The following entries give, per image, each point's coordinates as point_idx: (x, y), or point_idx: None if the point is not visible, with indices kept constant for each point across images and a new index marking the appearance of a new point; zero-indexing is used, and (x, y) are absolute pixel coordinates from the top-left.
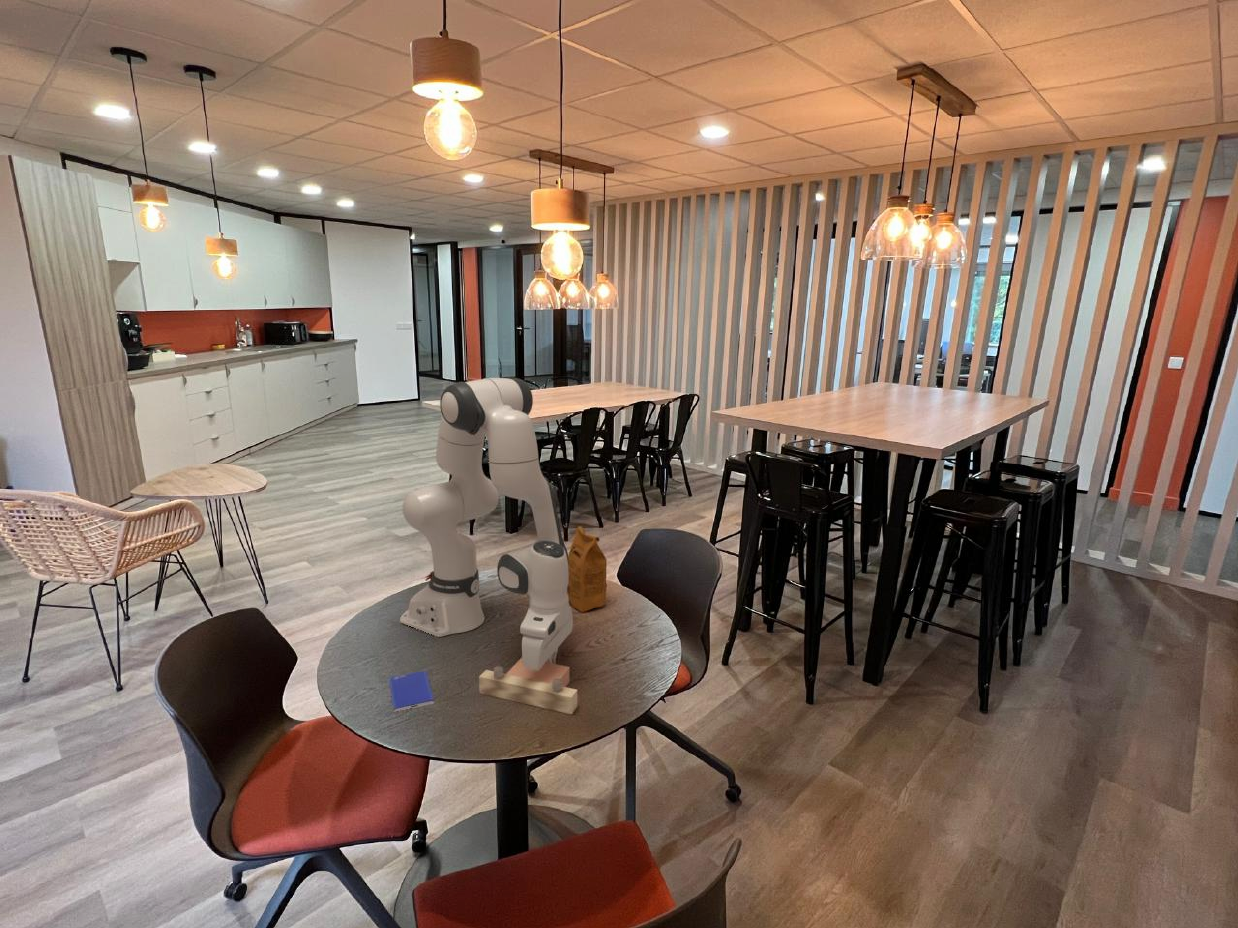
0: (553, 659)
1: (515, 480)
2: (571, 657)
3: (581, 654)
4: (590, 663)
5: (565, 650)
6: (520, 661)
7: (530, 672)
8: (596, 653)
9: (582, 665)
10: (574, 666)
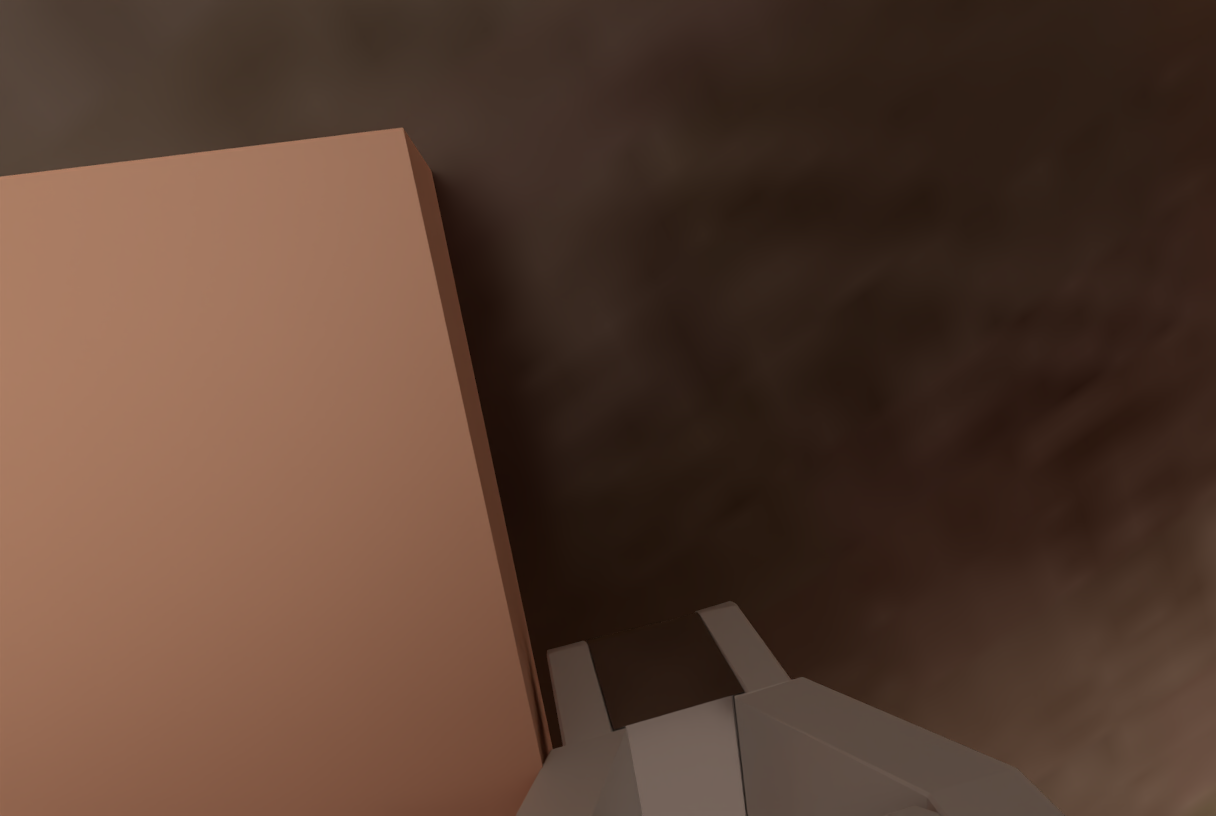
0: (748, 807)
1: None
2: (1070, 574)
3: (1157, 625)
4: None
5: (1203, 410)
6: (136, 257)
7: None
8: (1207, 733)
9: None
10: None
